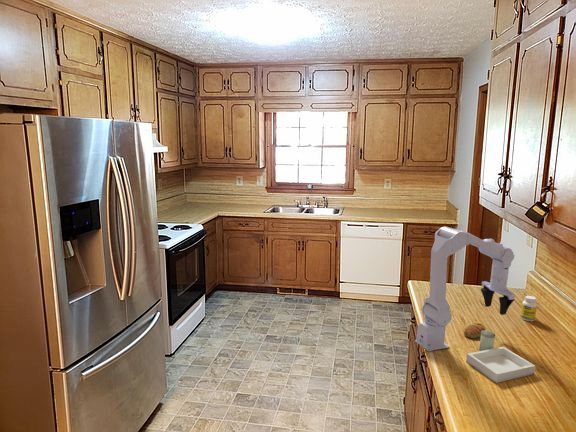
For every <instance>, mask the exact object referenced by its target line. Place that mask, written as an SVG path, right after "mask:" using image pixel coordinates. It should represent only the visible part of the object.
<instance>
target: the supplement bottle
mask: <svg viewBox="0 0 576 432" xmlns="http://www.w3.org/2000/svg"><path fill="white" fill-rule="evenodd" d="M536 302H537V297H536V296H534V295H533V296H532V295H526V296H525V297H524V300H523V301H522V304H521V310H520V311H521V312H520V318H521V320H523V321H526V322H534V321H535V320H536V315H537V308H538V304H537V303H536Z"/></svg>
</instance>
